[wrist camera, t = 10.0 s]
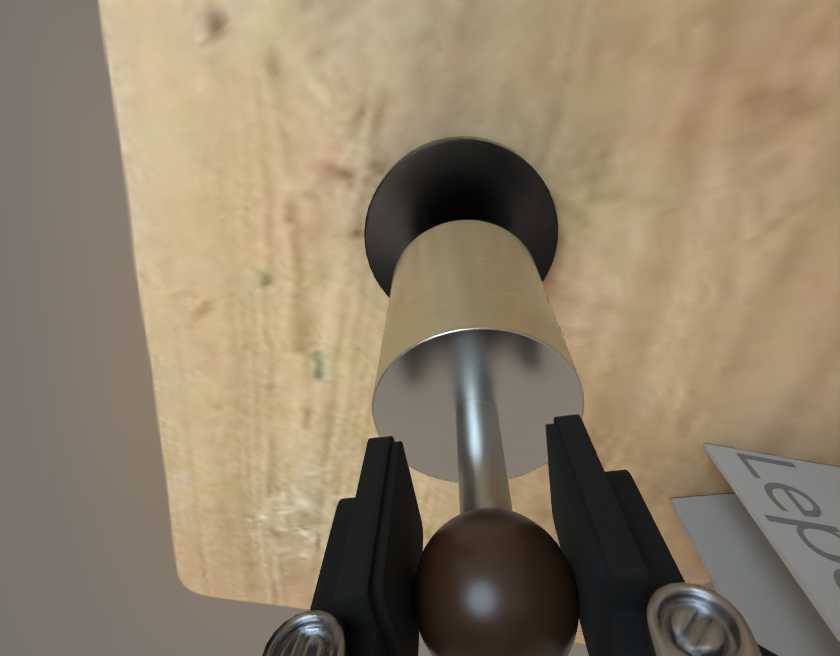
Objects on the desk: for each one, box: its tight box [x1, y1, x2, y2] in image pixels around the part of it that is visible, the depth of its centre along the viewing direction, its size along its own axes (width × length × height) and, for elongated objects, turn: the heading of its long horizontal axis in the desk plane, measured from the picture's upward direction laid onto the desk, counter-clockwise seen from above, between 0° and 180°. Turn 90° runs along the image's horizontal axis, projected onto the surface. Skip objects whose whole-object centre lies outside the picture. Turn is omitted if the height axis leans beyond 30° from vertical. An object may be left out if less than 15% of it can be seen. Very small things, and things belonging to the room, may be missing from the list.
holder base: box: [364, 137, 558, 298], centre depth 23 cm, size 10×10×5 cm
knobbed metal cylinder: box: [372, 220, 584, 656], centre depth 15 cm, size 17×6×6 cm
